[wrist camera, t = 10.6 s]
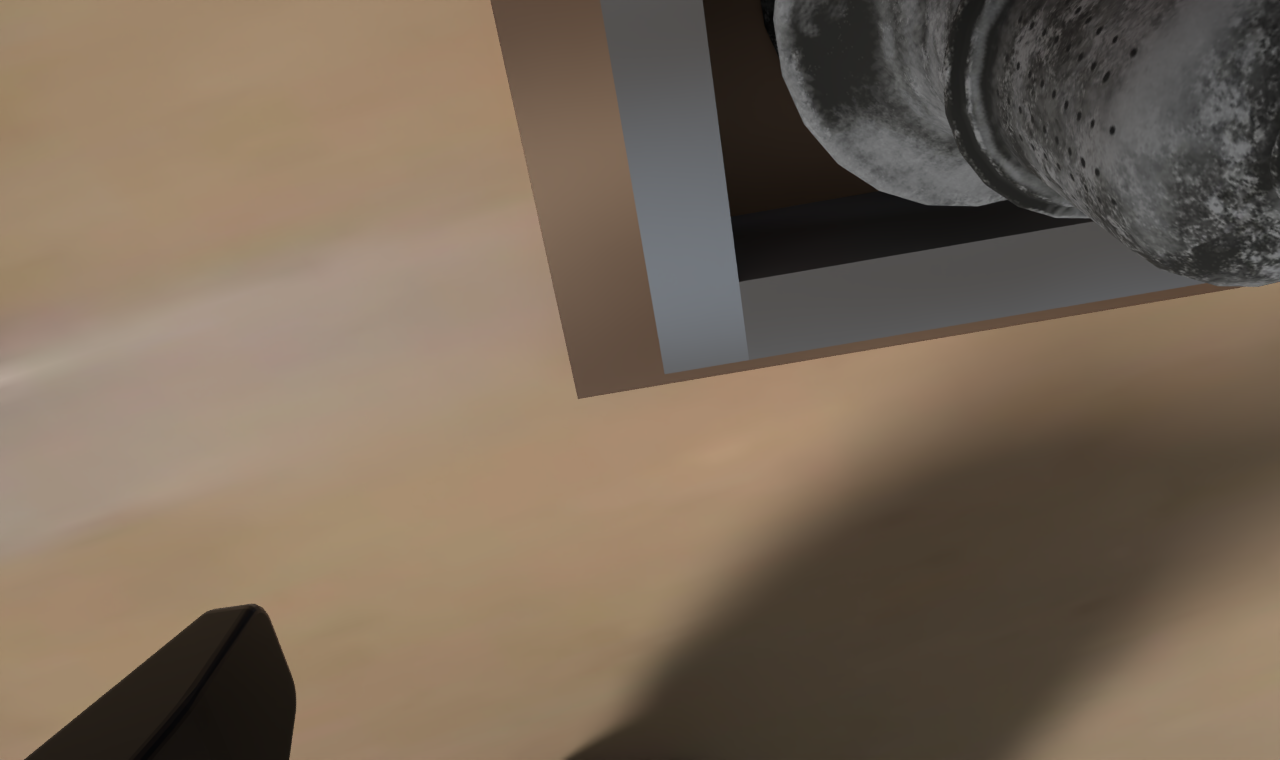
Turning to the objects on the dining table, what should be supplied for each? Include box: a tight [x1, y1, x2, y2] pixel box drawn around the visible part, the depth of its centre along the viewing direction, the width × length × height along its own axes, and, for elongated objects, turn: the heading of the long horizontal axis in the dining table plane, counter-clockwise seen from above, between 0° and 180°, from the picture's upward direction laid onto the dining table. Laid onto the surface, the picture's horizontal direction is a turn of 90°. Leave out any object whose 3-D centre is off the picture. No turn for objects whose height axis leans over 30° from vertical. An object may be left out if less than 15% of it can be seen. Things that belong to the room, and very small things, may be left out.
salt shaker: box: [760, 0, 1280, 287], centre depth 12 cm, size 6×6×12 cm
